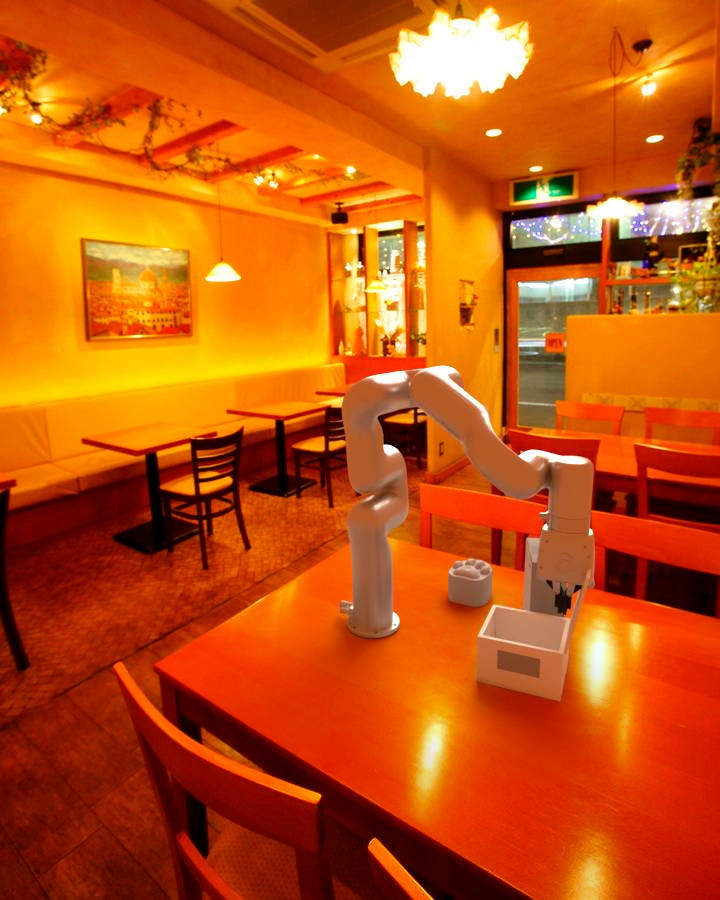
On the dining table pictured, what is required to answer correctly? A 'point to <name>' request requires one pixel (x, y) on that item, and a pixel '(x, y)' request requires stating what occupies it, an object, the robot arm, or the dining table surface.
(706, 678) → the dining table surface
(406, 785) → the dining table surface
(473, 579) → the lumpy-topped squat cylinder
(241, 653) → the dining table surface
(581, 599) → the lid flap
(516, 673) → the carton
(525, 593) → the hard drive box
